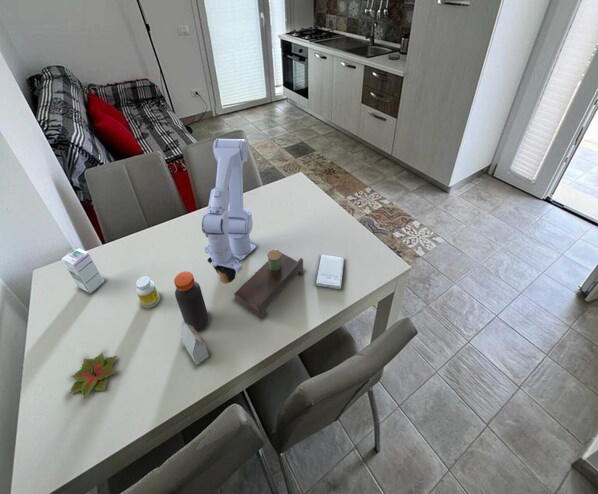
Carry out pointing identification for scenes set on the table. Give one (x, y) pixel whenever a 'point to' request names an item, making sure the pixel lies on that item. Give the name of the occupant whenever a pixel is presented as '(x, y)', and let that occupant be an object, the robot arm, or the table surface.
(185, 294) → the vinegar
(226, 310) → the table surface
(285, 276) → the spice shelf
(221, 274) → the ochre jar
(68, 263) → the syrup box
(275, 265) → the sage jar
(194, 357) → the white gable top packet
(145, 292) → the supplement bottle
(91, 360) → the red green leafy plant
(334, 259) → the hard drive
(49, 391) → the table surface
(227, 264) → the robot arm
